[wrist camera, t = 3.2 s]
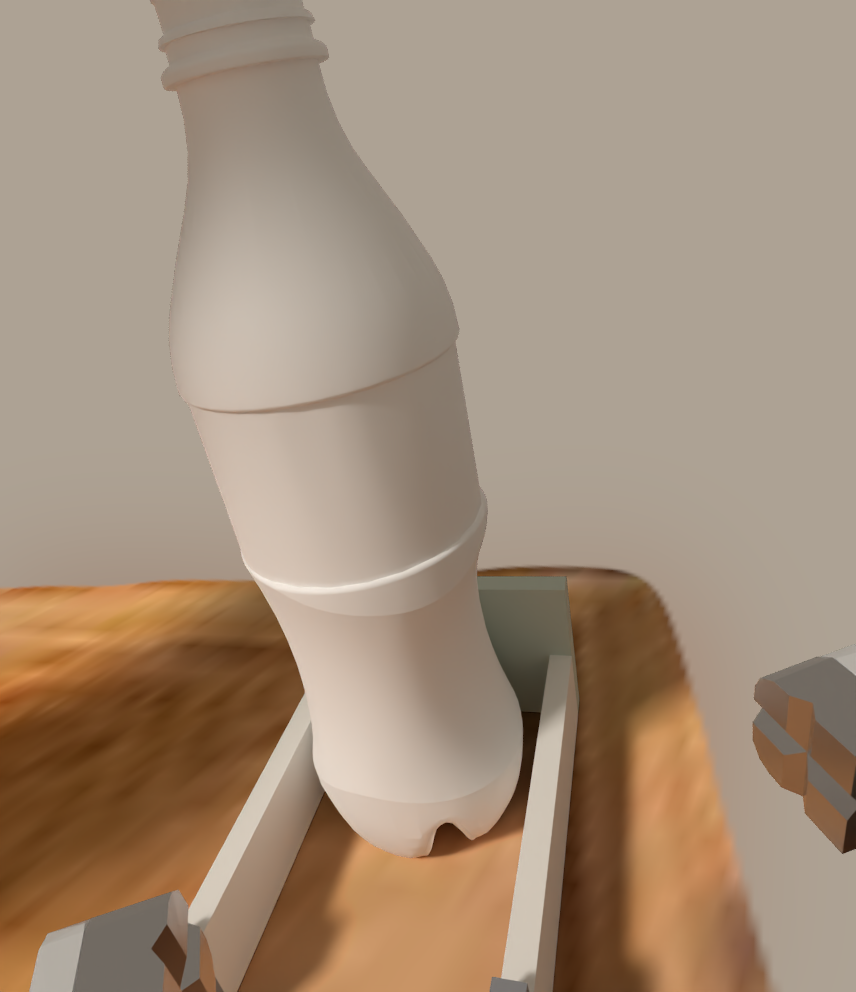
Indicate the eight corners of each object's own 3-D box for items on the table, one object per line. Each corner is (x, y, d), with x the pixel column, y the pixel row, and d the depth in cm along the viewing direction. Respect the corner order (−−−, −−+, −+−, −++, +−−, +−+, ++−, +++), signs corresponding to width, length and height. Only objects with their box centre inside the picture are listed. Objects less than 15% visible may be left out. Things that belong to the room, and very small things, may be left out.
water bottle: (553, 732, 27) (444, -90, 15) (496, 912, 21) (255, -170, 10) (387, 702, 30) (190, -5, 18) (298, 853, 24) (-67, -28, 13)
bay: (179, 1059, 19) (92, 931, 17) (352, 687, 31) (318, 576, 28) (538, 1146, 16) (505, 1009, 14) (579, 699, 28) (566, 576, 25)
